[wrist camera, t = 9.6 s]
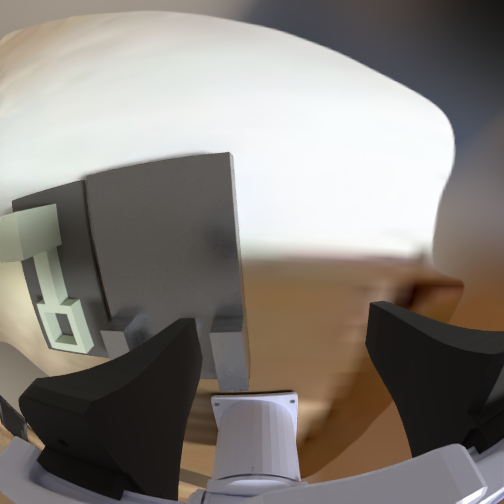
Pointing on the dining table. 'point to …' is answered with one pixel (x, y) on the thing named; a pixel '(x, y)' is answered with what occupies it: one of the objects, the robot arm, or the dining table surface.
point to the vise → (173, 258)
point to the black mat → (70, 261)
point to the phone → (12, 420)
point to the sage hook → (45, 272)
